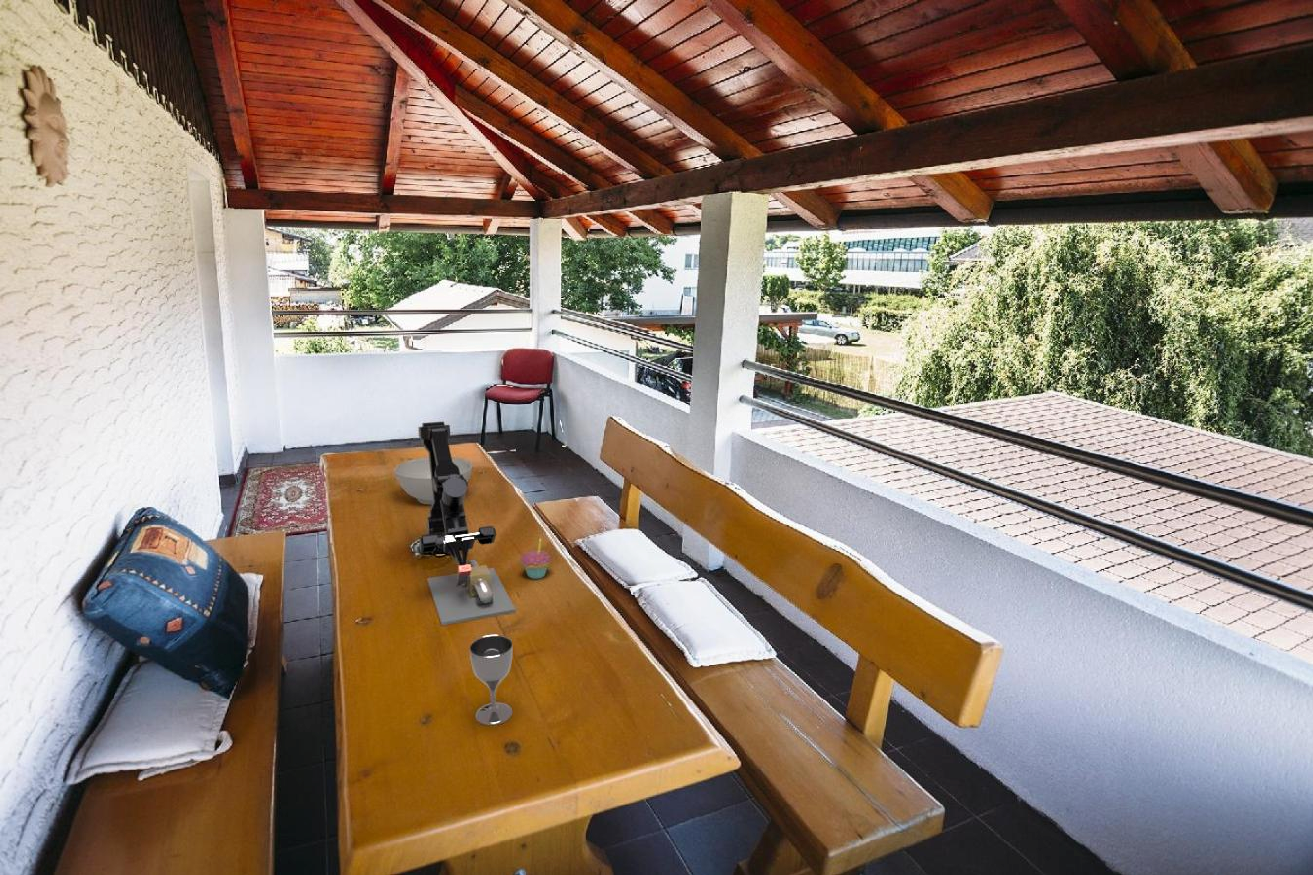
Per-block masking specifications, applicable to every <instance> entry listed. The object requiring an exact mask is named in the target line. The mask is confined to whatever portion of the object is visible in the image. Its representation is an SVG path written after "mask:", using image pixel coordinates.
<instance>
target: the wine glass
mask: <svg viewBox="0 0 1313 875" xmlns="http://www.w3.org/2000/svg"><path fill="white" fill-rule="evenodd" d="M469 657H470V663H471V668H472V671H473V673H474V675H475V677H476V678H477V679H478V680H479V681H481V682H482V683H483V684H484V685H486V686H487V688H488V689H489V694H490V699H491V700H490V702H489V703H486V704H484V705H482V706H480V707H479V708H478V709H477V710H476V713H475V720H476V721H477V722H478V723H480V724H483V725H486V726H495V725H499V724H500V725H501V724H503V723H505V722H507V721H508V720H509V719H510V718H512V717H511V716H513V709H512V707H511V706H510V705H509V704H507V703H504V702H499V701H497V702H496V698H497V697H496V694H497V688H498V687H499V684H500V683H501V682H502V681H503V680H504V679H505V678H506V677H507V675H508V674H509V673H510V670H511V667H512V660H513V642H512V640H511V639H510V638H509V637H507V636H505V635H500V634H489V635H483V636H481V637H479V638H477V639H474V640H473V641H472V642H471V644H470V646H469Z"/></svg>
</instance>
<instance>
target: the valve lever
mask: <svg viewBox="0 0 1313 875" xmlns="http://www.w3.org/2000/svg"><path fill="white" fill-rule="evenodd" d="M457 568H458V569H457V574H458V576H457V580H456V584H457V586H461V588H464V587H467V580H468V577H469V575H470V573H471V566H470V564H469V565H462V566H458V567H457Z"/></svg>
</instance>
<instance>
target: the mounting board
mask: <svg viewBox="0 0 1313 875" xmlns="http://www.w3.org/2000/svg"><path fill="white" fill-rule="evenodd" d="M488 569H489V571H490V573H491V592H492V594H493V604H488V605H483V606H477V604H476V597H479V595H477V596H471V595H470V593H469V590H468V588H467V587H464V588H461V586H457V584H456V580H457V576H458V573H451V574H446V575H439V576H433V577H428V578H427V585H428V586H429V590H430V593H431V597H432V599H433V603H434V605H435V610H436V612H437V615H438V618H439V620H440V624H441V626H447V625H453V624H458V623H459V624H460V623H464V622H469V621H475V620H480V619H484V618H485V619H487V618H490V617H496V616H501V615H507V614H511V613H512V614H513V613H516V612H517V610H516V607H515V605H514V603H513V602H512V600H511V598H510V596H509V595H508V593H507V590H506V589H505V587H504V585H503V582H501V579H500V578H499V576H498V574H497V572H496V570H495V568H494V567H491V568H489V567H488Z"/></svg>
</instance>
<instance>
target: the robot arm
mask: <svg viewBox="0 0 1313 875" xmlns="http://www.w3.org/2000/svg"><path fill="white" fill-rule="evenodd" d="M451 436H452V435H451V426H450V424H445V421H431V422H430V421H429V422H422V424H421V426H418V437H419V438H418V439H419V440H421V445H422V446H423V447H424V449H425V451H426V452H427V453H428V457H429V463H430V473H431V483H432V493H433V504H432V505H431V506H430V508H429V510H428V516H427V518H426V533H427V534H422V535H421V536H420V538H419V545H418V546H419V551H420V554H427V553H430V554H432V555H434V554H445V555H447V554H451V555H450V556H451V557H453V559H454V560H455V562H456V565H458V567H459V566H462V565H466V563H467V558H468V553H469V550H472V549H473V548H474V546H475V541H477V543H478V544H480V545H482V546H484V545H489V544H493V543H494V542H495V540H496V537H497V531H496V527H494V526H493V525H488V526H487V525H486V526H480V527H479V528H478V532H471V533H469V527H468V521H467V516H466V510H465V504H464V503H465V500H466V494H467V490H468V484H469V483H468V482H467V481H466V479H465V478H464V477H463V475H462V474H461V475H460V471H459V467H458V466H457V465H455V464H454V463H453V462H452V458H451V457H452V454H451V453H452V452H451V450H450V449H451V448H450V444H449V438H451ZM447 556H448V555H447Z"/></svg>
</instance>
